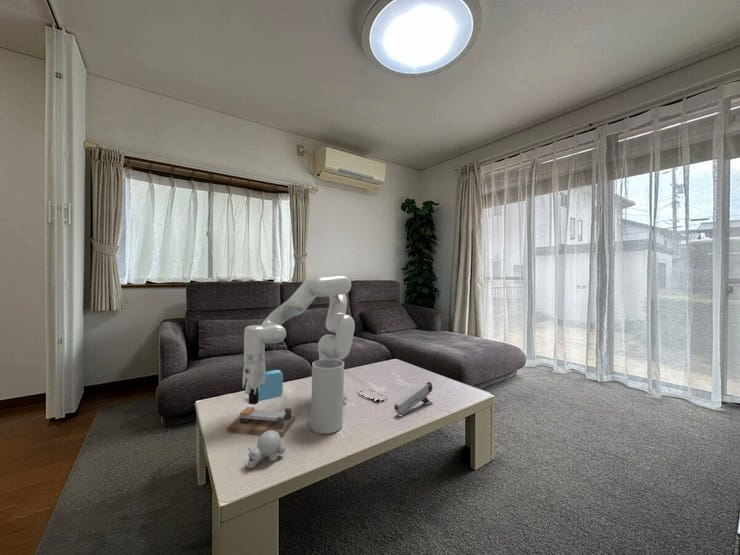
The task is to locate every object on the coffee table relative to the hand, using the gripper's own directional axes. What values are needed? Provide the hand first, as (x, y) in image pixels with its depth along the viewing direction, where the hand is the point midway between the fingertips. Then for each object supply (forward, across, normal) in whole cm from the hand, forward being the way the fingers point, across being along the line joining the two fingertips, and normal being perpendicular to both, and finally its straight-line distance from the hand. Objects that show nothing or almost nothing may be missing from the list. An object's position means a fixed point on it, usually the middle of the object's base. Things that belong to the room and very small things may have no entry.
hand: (253, 403), depth 110 cm
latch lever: (+5, 0, -4) cm, 7 cm away
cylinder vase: (+9, +4, -29) cm, 30 cm away
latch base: (+9, 0, -4) cm, 9 cm away
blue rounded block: (+9, +26, +6) cm, 28 cm away
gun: (+10, +24, -64) cm, 69 cm away
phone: (+10, +34, -44) cm, 56 cm away
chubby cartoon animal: (+9, -20, -15) cm, 26 cm away
